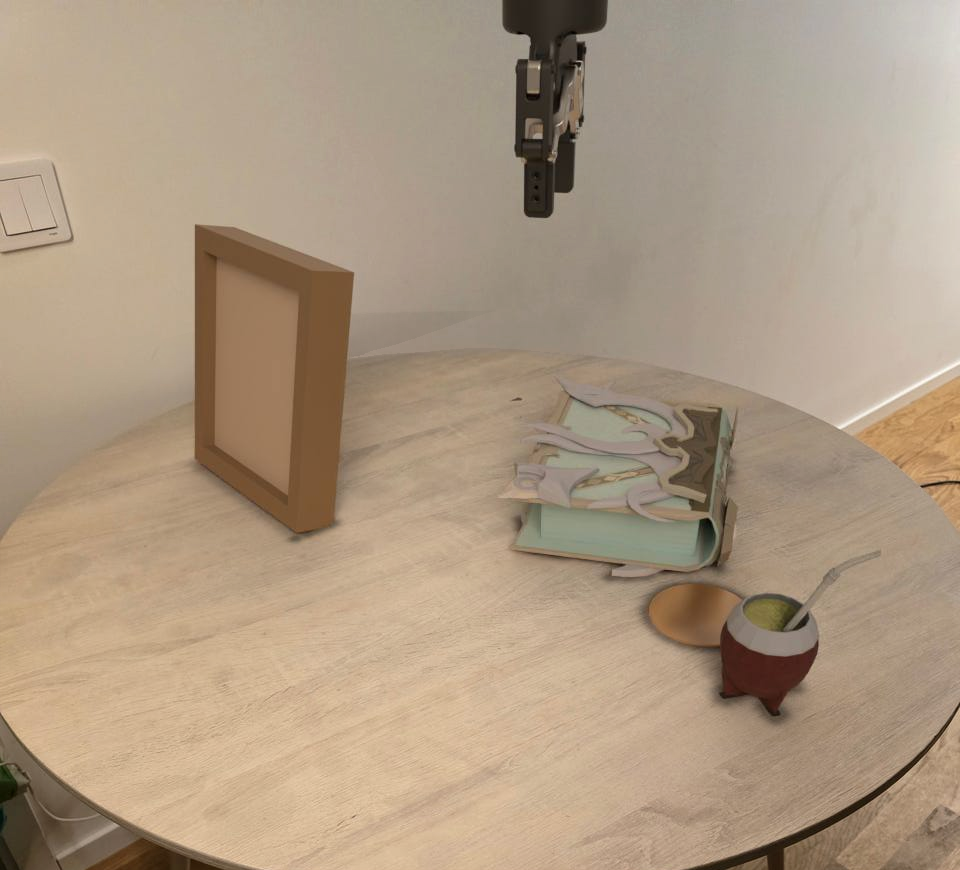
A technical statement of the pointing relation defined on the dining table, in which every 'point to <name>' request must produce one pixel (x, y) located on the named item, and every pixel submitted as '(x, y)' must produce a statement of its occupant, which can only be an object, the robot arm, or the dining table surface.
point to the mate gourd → (772, 642)
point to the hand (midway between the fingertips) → (549, 203)
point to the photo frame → (270, 371)
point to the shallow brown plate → (692, 613)
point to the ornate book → (628, 482)
